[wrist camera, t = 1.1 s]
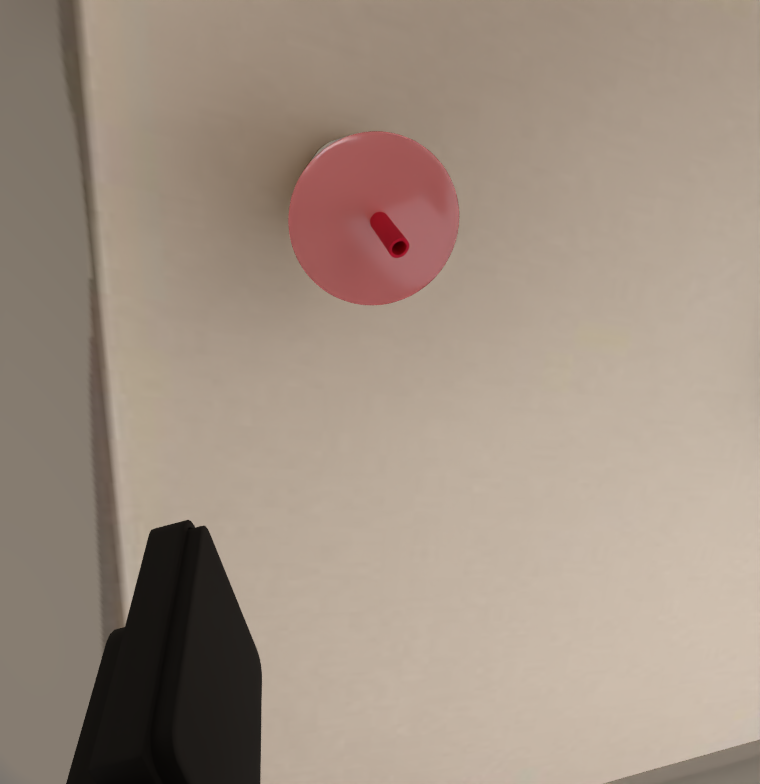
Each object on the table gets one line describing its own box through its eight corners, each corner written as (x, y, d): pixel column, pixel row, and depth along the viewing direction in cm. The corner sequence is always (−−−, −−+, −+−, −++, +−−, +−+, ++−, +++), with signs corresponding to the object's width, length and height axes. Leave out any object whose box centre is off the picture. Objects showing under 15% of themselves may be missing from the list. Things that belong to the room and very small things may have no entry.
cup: (430, 202, 31) (516, 277, 20) (325, 265, 31) (354, 371, 20) (370, 86, 28) (431, 101, 18) (258, 156, 29) (251, 211, 18)
